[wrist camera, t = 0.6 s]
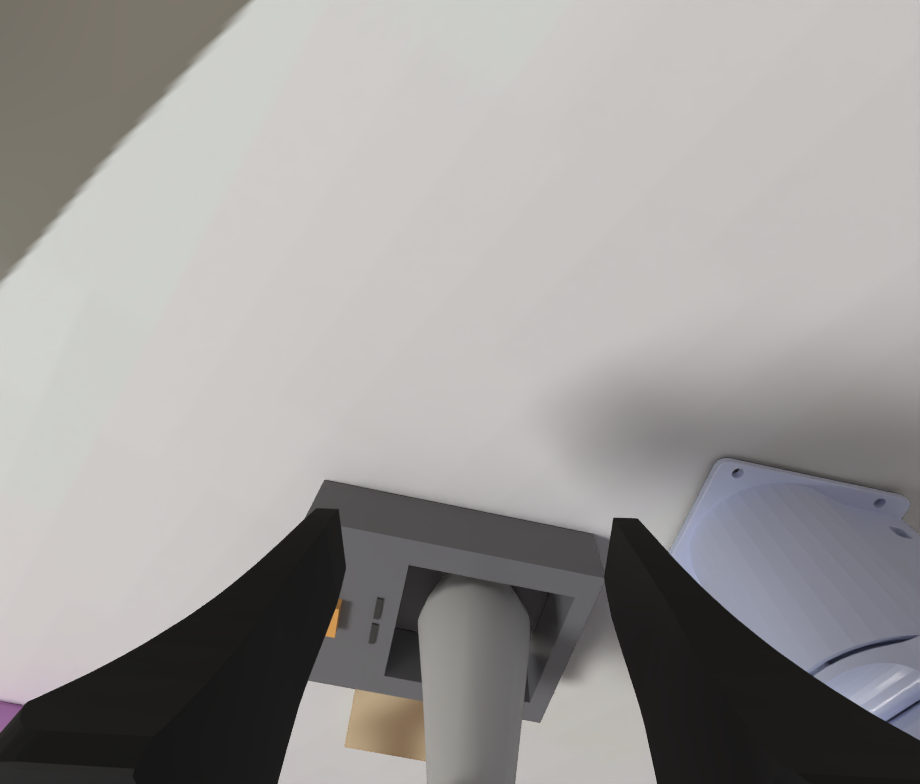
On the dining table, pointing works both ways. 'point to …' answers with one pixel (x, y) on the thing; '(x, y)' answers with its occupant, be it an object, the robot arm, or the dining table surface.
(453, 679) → the salt shaker
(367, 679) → the grey flat block
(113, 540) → the dining table surface
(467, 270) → the dining table surface
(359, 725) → the oak pad
